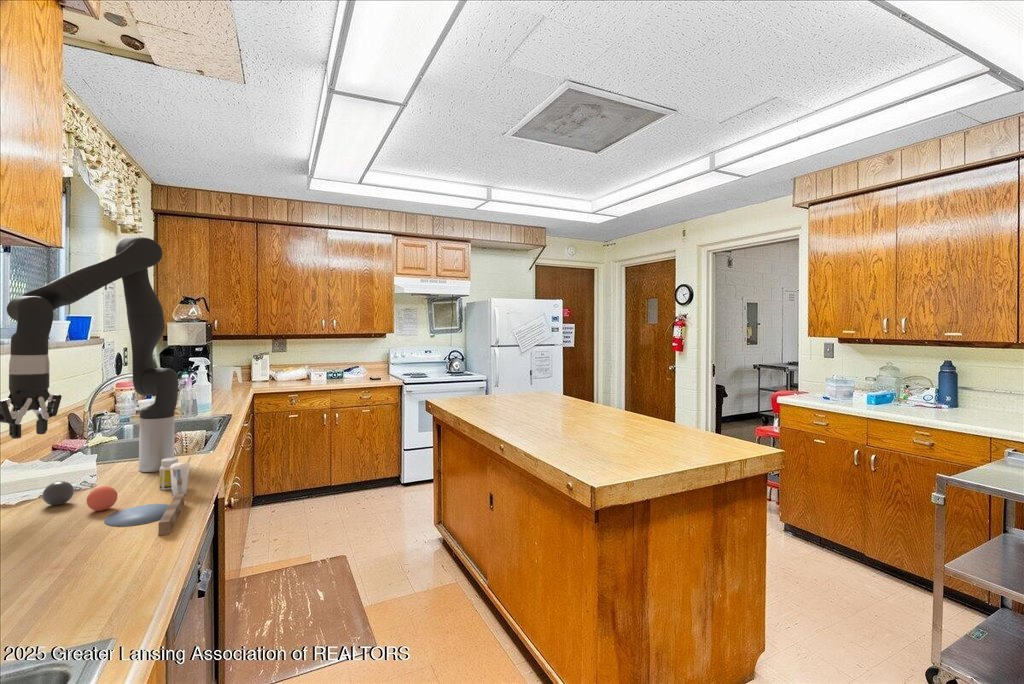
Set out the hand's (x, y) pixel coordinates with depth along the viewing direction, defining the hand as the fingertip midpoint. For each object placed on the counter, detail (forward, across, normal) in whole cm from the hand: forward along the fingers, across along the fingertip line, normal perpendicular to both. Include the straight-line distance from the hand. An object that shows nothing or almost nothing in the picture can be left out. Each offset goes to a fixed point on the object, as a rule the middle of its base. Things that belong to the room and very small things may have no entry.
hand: (29, 435), depth 125 cm
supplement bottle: (+18, +18, -25) cm, 36 cm away
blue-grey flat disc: (+17, 0, -36) cm, 40 cm away
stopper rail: (+17, 0, -45) cm, 49 cm away
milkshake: (+18, +15, -32) cm, 40 cm away
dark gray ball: (+14, 0, -10) cm, 18 cm away
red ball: (+14, 0, -24) cm, 28 cm away
